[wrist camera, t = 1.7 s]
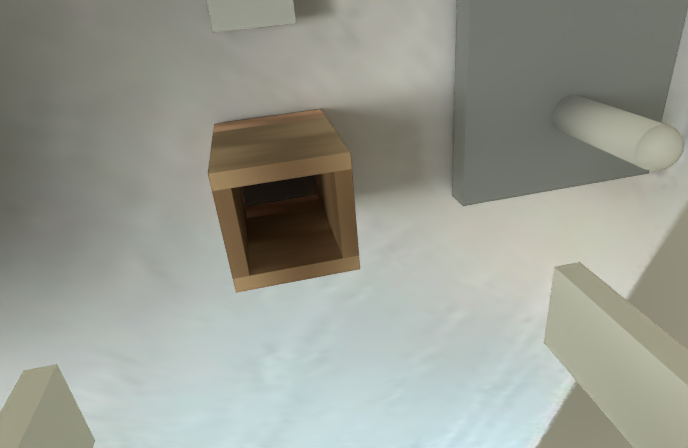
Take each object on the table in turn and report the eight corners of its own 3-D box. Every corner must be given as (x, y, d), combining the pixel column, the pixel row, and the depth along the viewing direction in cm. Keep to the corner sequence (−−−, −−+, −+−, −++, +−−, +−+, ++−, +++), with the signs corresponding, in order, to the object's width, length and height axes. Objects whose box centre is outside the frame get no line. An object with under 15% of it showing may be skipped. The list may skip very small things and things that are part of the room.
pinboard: (452, 195, 28) (530, 271, 21) (461, -195, 20) (598, -300, 12) (630, 164, 30) (761, 225, 23) (709, -207, 22) (960, -305, 14)
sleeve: (235, 219, 26) (236, 292, 20) (214, 124, 24) (207, 173, 17) (331, 203, 27) (360, 269, 21) (320, 109, 24) (350, 152, 18)
